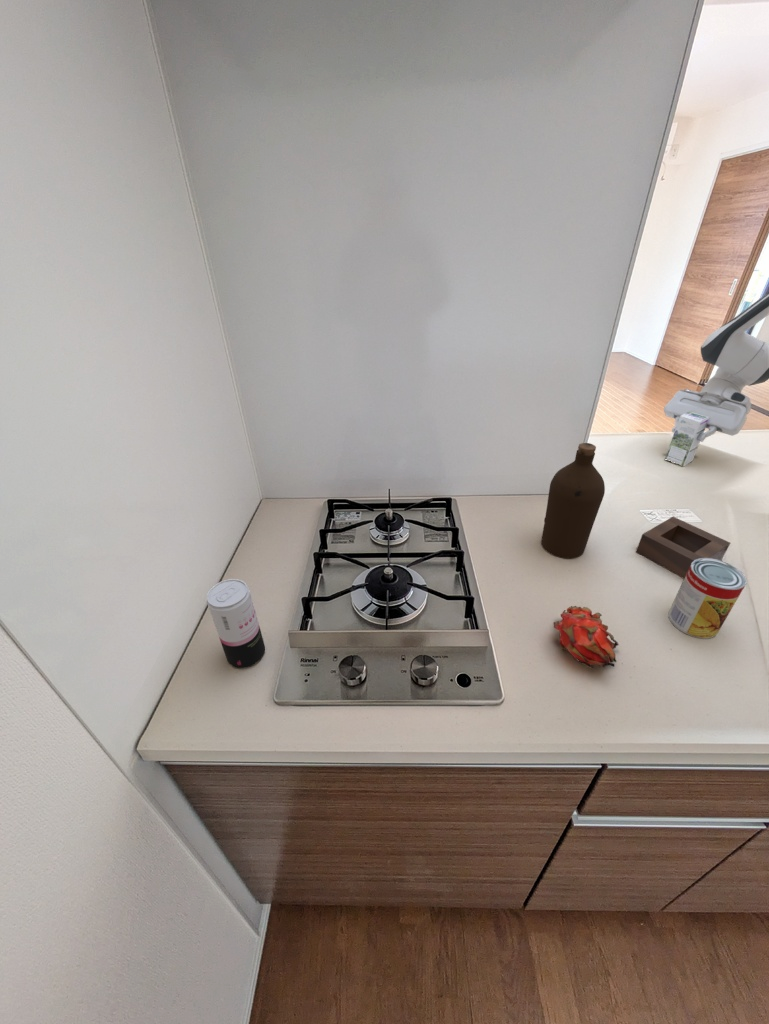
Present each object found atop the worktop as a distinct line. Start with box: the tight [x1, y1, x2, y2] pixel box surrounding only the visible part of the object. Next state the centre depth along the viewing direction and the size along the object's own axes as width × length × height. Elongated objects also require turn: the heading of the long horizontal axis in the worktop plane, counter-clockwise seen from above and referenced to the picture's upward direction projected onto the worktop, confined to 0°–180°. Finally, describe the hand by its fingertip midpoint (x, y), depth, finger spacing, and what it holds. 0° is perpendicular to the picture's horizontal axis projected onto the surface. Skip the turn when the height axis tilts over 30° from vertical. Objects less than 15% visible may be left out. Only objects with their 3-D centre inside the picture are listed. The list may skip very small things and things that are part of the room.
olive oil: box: [540, 442, 606, 559], centre depth 93 cm, size 11×11×25 cm
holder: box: [635, 516, 731, 579], centre depth 94 cm, size 12×12×5 cm
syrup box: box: [664, 412, 710, 467], centre depth 128 cm, size 6×6×14 cm
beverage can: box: [206, 578, 266, 669], centre depth 73 cm, size 7×6×15 cm
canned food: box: [667, 558, 748, 639], centre depth 77 cm, size 8×8×12 cm
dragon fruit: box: [553, 605, 620, 669], centre depth 73 cm, size 8×8×12 cm
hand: (686, 436), depth 127 cm, fingers closed on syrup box, 6 cm apart
